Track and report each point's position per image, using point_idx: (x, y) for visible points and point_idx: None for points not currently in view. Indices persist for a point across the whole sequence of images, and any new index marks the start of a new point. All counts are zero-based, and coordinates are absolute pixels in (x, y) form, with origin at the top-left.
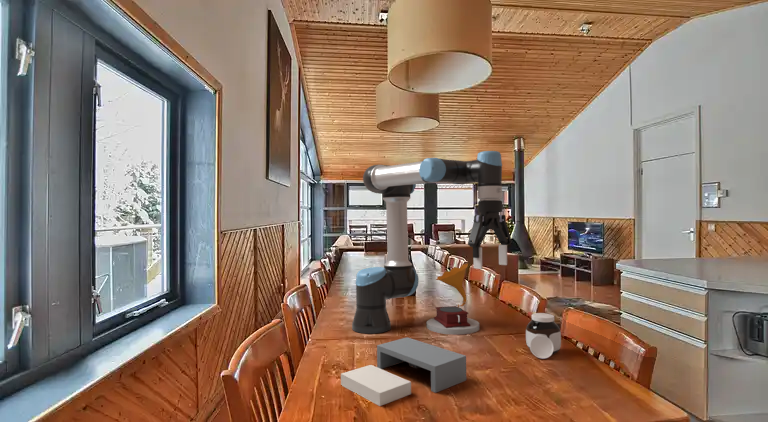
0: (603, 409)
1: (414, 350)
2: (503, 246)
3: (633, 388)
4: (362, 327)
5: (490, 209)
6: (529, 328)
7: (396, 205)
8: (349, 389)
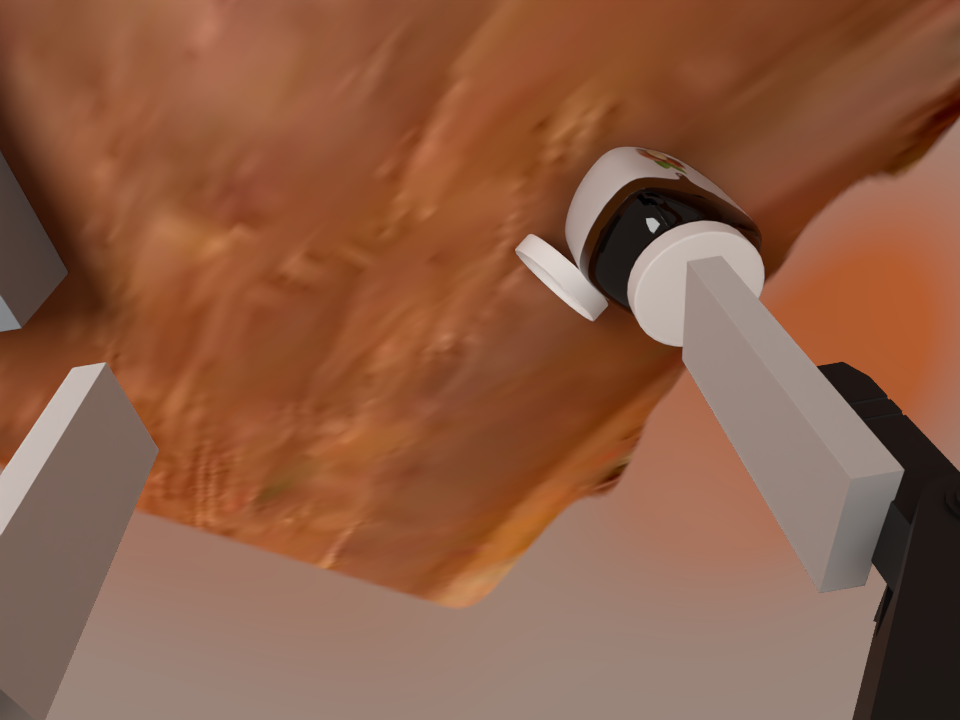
0: (340, 551)
1: None
2: (810, 539)
3: (527, 522)
4: None
5: None
6: (599, 233)
7: None
8: None
